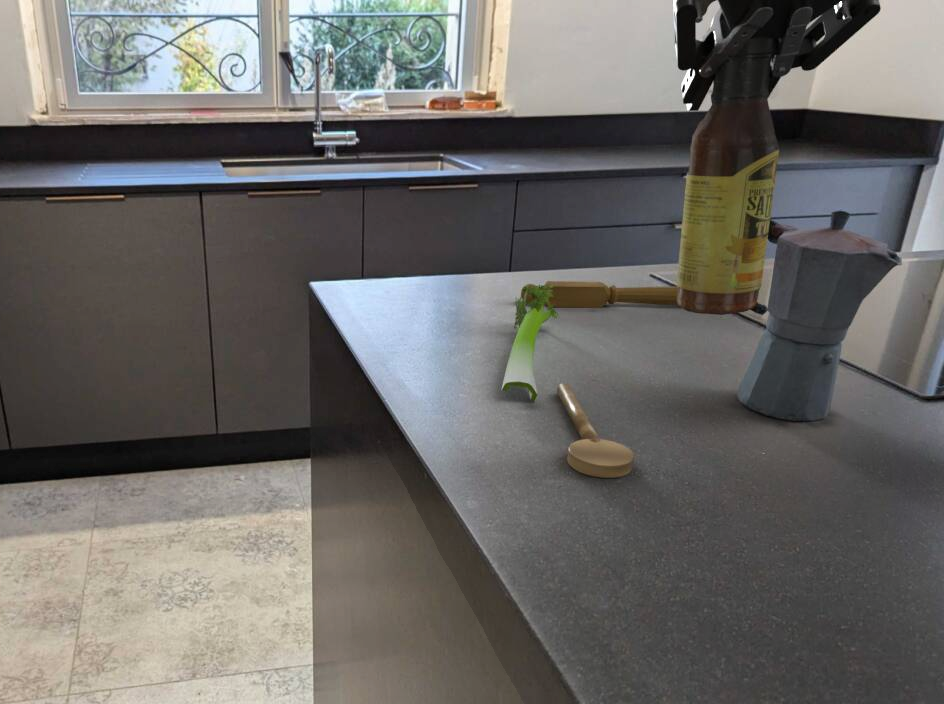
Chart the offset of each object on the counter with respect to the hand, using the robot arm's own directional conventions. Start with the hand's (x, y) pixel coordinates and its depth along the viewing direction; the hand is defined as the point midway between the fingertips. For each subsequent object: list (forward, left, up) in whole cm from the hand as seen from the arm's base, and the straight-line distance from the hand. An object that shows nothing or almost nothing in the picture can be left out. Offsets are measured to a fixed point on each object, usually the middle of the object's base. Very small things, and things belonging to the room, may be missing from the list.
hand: (719, 101), depth 64 cm
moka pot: (-16, -11, -30) cm, 36 cm away
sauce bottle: (-1, +4, -15) cm, 16 cm away
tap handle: (-10, -50, -30) cm, 59 cm away
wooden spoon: (+6, -3, -30) cm, 31 cm away
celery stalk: (+8, -25, -30) cm, 40 cm away
